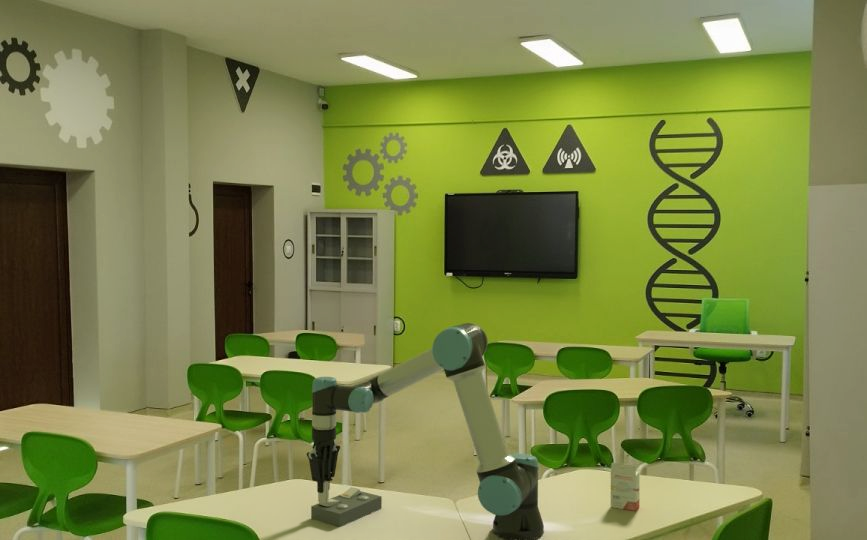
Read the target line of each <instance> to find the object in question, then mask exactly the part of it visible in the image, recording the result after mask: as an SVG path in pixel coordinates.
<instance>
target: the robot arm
mask: <svg viewBox="0 0 867 540" xmlns="http://www.w3.org/2000/svg"><path fill="white" fill-rule="evenodd" d="M488 344H489V341H488V337H487V334H486V332H485V330H484V329H483V328H482V327H480V326H479V325H477V324H475V323H470V322H468V323H460V324H458V325H453V326H449V327H447V328H445V329H443V330H442V331H440V332H439V333H438V334H437V335H436V336H435V338H434V340H433V342H432V347H431V348H430V349H427V350H425V351H423V352H421V353H420V354H417V355H416V356H414V357H411V358H410V359H407V360H406V361H404V362H402V363H400V364H397V366H394V367H392V368H390V369H389V370H386V371H384V372H383V373H380V374H379V375H376V376H375V377H372V378H370V379H368V380H366V381H364V382H360V383H358V384H354V385H352V386H350V385H339V384H338V382H337V379H336V377H333V376H319V377H315V378H314V379H312V380H313V381H312V384H311V385H312V388H311V400H312V401H311V403H312V404H311V426H312V428H311V439H312V441H313V444H312V449H311V451H308V452H307V453H306V457H307V458H308V461H309V462H308V463H309V467H310V468H309V469H310V473H311V474H310V475H311V480H312V482H316V489H317V490H316V492H317V494H318V495H317V496H318V497H317V502H318V503H319V502H321V503H326V501H329V499H330V498H329V495H330V493H329V491H330V487H331V486H330V482H332V481H333V478H335V475H336V470H337V469H336V468H337V465H338V464H337V462H338V456H339V452H340V450H341V446H340V445H338V444H336V442H335V440H336V439H337V428H336V426H337V411H343V412H344V411H346V412H353V413H357V414H358V413H359V414H360V413H368V412H369V411H370V410H371V409H372V408H373V405H374V404H378V403H379V402H382V401H383V400H385V399H387V398H388V397H390V396H393V395H395V394H397V393H398V392H401V391H403V390H404V389H407V388H408V387H411V386H413V385H415V384H417V383H419V382H421V381H423V380H425V379H427V378H430V377H431V376H433V375H436V374H438V373H439V372H440V373H441V371H444V375H445V377H446V379H448V380H449V381H451V382H452V383H453V385H454V387H455V391H456V394H457V397H458V400H459V403H460V407H461V410H462V412H463V416H464V419H465V422H466V425H467V428H468V433H469V436H470V439H471V441H472V444H473V447H474V450H475V454H476V457H477V460H478V465H477V468H476V475H477V477H478V480H479V485H478V489H477V497H478V500H479V503H480V505H481V506H482V507H483V509H484V510H486V511H487V512H489V513H490V514H492V515H494V519H493V521H492V532H493V533H494V535H496V536H497V537H500V538H503V539H506V540H534V539H538V538H540V537H542V536H543V535H544V531H545V529H544V522H543V518H542V516H541V513H540V509H539V461H538V458H537V457H536V456H535V455H531V454H526V453H519V452H518V453H516V452H514V453H511V452H508V450H507V447H506V443H505V441H504V437H503V435H502V430H501V428H500V424H499V422H498V419H497V415H496V411H495V409H494V405H493V403H492V400H491V397H490V394H489V391H488V387H487V385H486V381H485V378H484V375H483V371H484V368H485V367H486V364H485V361H484V359H483V356H484V355H485V354H486V352H487V349H488Z"/></svg>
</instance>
